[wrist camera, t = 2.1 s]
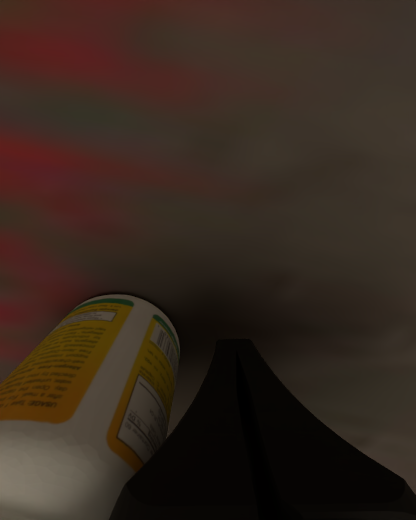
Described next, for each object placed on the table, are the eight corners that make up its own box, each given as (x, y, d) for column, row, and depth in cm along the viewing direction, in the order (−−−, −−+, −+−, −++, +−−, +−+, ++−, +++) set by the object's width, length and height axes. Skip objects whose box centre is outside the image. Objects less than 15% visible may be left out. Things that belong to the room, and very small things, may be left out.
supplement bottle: (202, 326, 13) (183, 749, 4) (147, 404, 14) (33, 843, 5) (92, 266, 12) (-318, 628, 3) (45, 357, 13) (-319, 786, 4)
